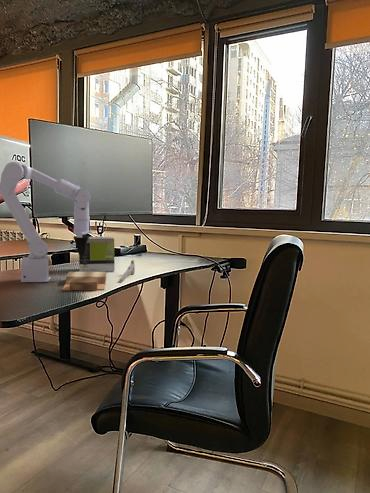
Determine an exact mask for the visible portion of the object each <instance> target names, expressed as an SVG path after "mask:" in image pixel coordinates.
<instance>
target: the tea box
mask: <svg viewBox="0 0 370 493" xmlns="http://www.w3.org/2000/svg"><path fill="white" fill-rule="evenodd" d="M78 265H79V266H78V267H79V271H78V272H115V238H114V236H89V239H88V241H87V244H86V249H85V254H84V255H79V254H78Z"/></svg>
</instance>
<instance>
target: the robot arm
mask: <svg viewBox="0 0 370 493" xmlns="http://www.w3.org/2000/svg"><path fill="white" fill-rule="evenodd" d="M0 175H1V176H0V196H1V197H2V200H3V201H4V202H5V204H6V205H7V208H8V210H9V211H10V213H11V215H12V217H13V218H14V220H15V222H16V223H17V225H18V228H19V229H20V231H21V232H22V234H23V236H24V238H25V240H26V242H27V248H28V250H29V252H30V253H29V254H28V255H27V256H23V257H22V258H21V261H20V283H47V282H49V281H50V280H51V278H52V276H49V274H50V273H49V255H48V252H49V245H48V244H47V242H46V241H44V240H43V239H42V238H41V236H40V234H39V233H38V232H37V230H36V228H35V226H34V224H33V222H32V221H31V219H30V217H29V215H28V214H27V211H26V210H25V208H24V206H23V205H22V203H21V201H20V199H19V198H18V195H17V194H16V192H15V191H16V188H17V186H18V182H20V180H21V179H22V178H23V179H22V180H33V181H36V182H39V183H40V184H44V185H46V186H48V187H50V188H53V190H54V193H55V194H58V195H60V196H62V197H64V198H67V199H69V200H72V201H73V204H74V205H73V206H74V207H73V232H72V233H73V234H76V235H74V236H73V240H74V243H75V244H76V249H77V253H78V256H79V255H84V254H85V249H86V244H87V241H88V239H89V237H90V235H87V234H92V233H93V231H92V230H90V201H91V199H92V196H91V193H90V192H89V190H88V189H86V188H82V187H81V186H80V184H77V185H76V184H75V183H74V184H73V183H72V182H70V181H69V180H68V179H67V178H64V179H63V178H59V179H56V178H53V177H51V176H49V175H47V174H46V173H43V172H41V171H39V170H37V169H35V168H33V167H30V166H28V165H26V164H25V165H24V164H20V163H19V162H16V161H11V162H8V163H7V164H6V165H5V167H4V168H3V170H2V172H1V174H0Z"/></svg>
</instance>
